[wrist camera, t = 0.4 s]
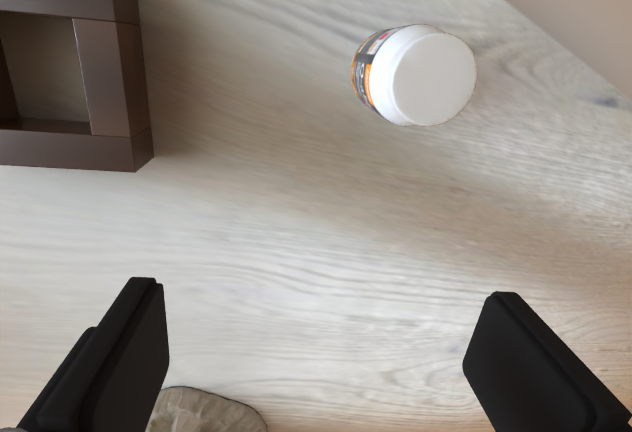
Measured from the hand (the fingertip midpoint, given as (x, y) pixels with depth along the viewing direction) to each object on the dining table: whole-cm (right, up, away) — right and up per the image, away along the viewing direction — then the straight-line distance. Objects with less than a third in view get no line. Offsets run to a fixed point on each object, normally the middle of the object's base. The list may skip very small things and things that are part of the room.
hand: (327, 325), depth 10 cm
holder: (-19, +14, +16) cm, 28 cm away
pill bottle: (+5, +14, +17) cm, 23 cm away
